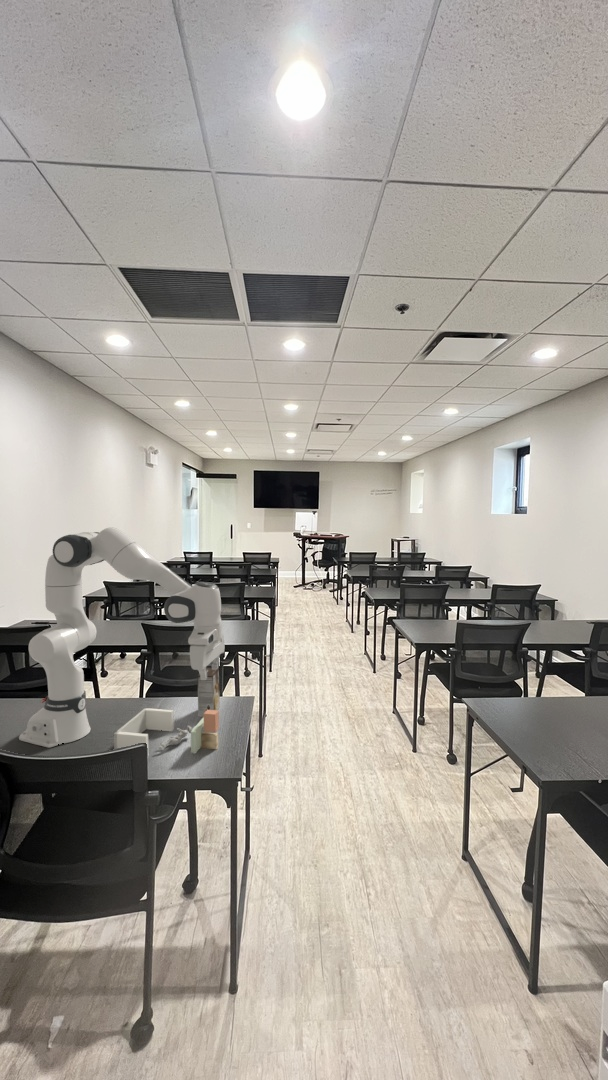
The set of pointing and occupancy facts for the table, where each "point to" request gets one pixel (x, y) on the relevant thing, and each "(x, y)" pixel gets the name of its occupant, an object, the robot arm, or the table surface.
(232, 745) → the table surface
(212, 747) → the tan wooden block
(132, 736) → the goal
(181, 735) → the soldier figure
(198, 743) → the t-shaped crossbar
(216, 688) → the coffee box
